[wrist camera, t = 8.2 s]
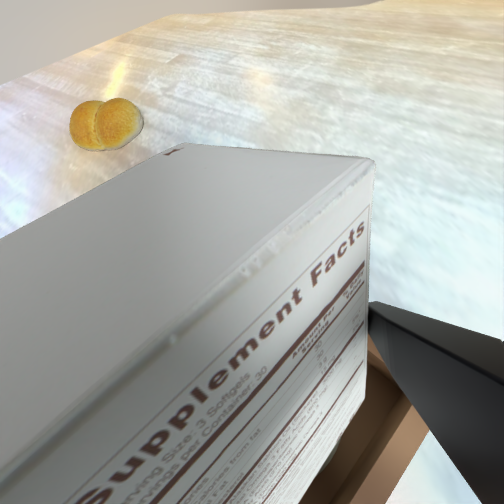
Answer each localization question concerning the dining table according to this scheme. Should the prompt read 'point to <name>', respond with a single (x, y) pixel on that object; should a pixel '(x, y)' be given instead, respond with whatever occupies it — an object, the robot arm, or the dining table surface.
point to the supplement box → (186, 330)
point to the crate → (371, 444)
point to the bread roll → (105, 124)
